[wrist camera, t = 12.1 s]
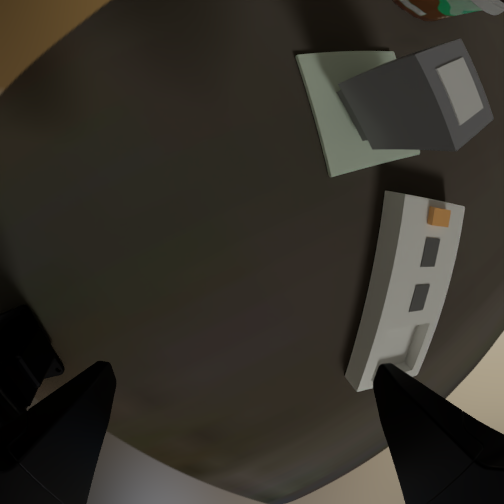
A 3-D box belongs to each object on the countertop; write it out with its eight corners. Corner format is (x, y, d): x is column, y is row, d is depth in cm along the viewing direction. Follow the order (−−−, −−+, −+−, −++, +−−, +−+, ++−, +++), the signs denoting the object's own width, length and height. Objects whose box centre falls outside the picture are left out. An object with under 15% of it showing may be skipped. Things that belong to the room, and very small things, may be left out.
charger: (360, 149, 20) (457, 151, 11) (327, 88, 18) (416, 54, 9) (402, 123, 20) (495, 118, 11) (374, 67, 18) (462, 38, 9)
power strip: (404, 362, 28) (420, 377, 25) (344, 376, 26) (359, 395, 23) (445, 202, 23) (469, 208, 20) (384, 190, 21) (410, 195, 18)
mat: (329, 176, 20) (331, 177, 20) (295, 56, 17) (297, 54, 17) (417, 153, 21) (420, 154, 21) (390, 52, 18) (393, 51, 18)
